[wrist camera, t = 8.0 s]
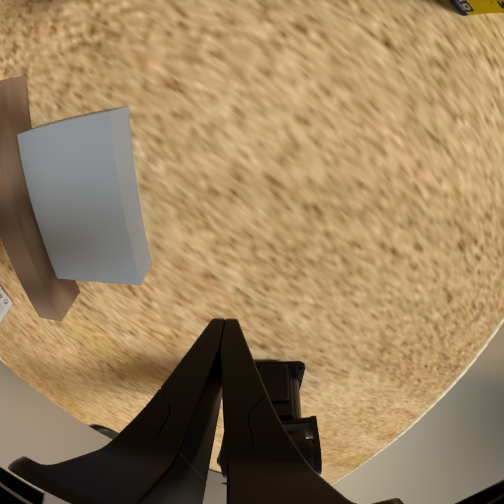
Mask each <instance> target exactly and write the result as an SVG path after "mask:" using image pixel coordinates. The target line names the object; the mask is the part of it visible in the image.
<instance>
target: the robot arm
mask: <svg viewBox="0 0 504 504" xmlns="http://www.w3.org/2000/svg"><path fill="white" fill-rule="evenodd" d="M304 370H305V364H304V363H255V362H254V360H253V357H252V355H251V352H250V350H249V347H248V345H247V342H246V340H245V337H244V335H243V332H242V330H241V327H240V324H239V322H238V320H237V319H226V320H225V319H221V318H214V319H212V320H211V322H210V323H209V324H208V326H207V327H206V328H205V330H204V331H203V332H202V334H201V335H200V336H199V338H198V339H197V340H196V342H195V343H194V344H193V346H192V347H191V348H190V350H189V351H188V352H187V354H186V355H185V356H184V357H183V359H182V360H181V361H180V363H179V364H178V365H177V367H176V368H175V369H174V371H173V372H172V373H171V375H170V376H169V377H168V379H167V380H166V381H165V383H164V384H163V385H162V386H161V389H159V390H158V392H157V393H156V394H155V396H154V397H153V398H152V399H151V401H150V402H149V403H148V404H147V405H146V407H145V408H144V409H143V410H142V411H141V412H140V413H139V414H138V415H137V416H136V417H135V418H134V419H133V420H132V421H131V422H130V423H129V424H128V425H127V426H126V427H125V428H124V429H123V430H122V431H121V432H120V433H119V434H118V435H117V436H116V437H115V438H114V439H113V440H112V441H111V442H110V443H108V444H107V445H106V446H104V447H103V448H101V449H99V450H96V451H94V452H91V453H88V454H85V455H82V456H79V457H77V458H73V459H70V460H67V461H64V462H61V463H57V464H53V465H42V464H39V463H37V462H35V461H32V460H31V459H29V458H27V457H24V456H23V457H21V458H19V459H17V460H15V461H14V462H12V463H11V464H10V465H9V466H8V469H9V470H10V471H11V472H13V473H14V474H16V475H18V476H19V477H21V478H23V479H24V480H26V481H28V482H29V483H31V484H33V485H35V486H37V487H38V488H40V489H42V490H44V493H43V492H41V491H40V490H38V489H36V488H34V487H33V486H31V485H29V484H27V483H26V482H24V481H22V480H21V479H19V478H17V477H16V476H14V475H13V474H11V473H9V472H8V471H6V470H5V469H3V468H1V467H0V504H202V503H203V498H204V492H205V487H206V480H207V475H208V470H209V464H210V459H211V453H212V448H213V442H214V437H215V431H216V426H217V420H218V415H219V409H220V404H221V399H222V400H223V418H224V435H223V440H222V445H221V450H220V452H219V455H218V458H217V464H218V465H219V466H220V467H221V471H222V475H223V477H224V478H227V504H356V503H353V502H351V501H349V500H348V499H346V498H345V497H344V496H343V495H342V494H340V493H339V492H338V491H337V490H336V489H334V488H333V487H332V486H331V485H330V484H329V483H327V482H326V481H325V480H324V479H323V478H322V477H321V476H319V474H321V471H322V461H321V448H320V440H319V433H318V426H317V419H316V416H310V417H306V418H301V405H300V393H299V390H300V386H301V383H302V379H303V375H304ZM306 437H310V439H306ZM373 504H404V503H403V502H402V501H401V500H400V499H399V498H394V499H390V500H385V501H381V502H377V503H373ZM455 504H504V480H501V481H500V482H498V483H496V484H494V485H492V486H490V487H488V488H486V489H484V490H482V491H479V492H478V493H476V494H474V495H472V496H469V497H467V498H465V499H463V500H461V501H459V502H457V503H455Z"/></svg>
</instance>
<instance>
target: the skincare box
mask: <svg viewBox="0 0 504 504" xmlns="http://www.w3.org/2000/svg"><path fill="white" fill-rule="evenodd" d="M12 305H13V302H12V301H11V299H10V298H9V297H8V296H7V295H6V293H5V292H4V291H3V289H2V288H1V286H0V323H1V321H2V320H3V318H4V316H5V315H6V313H7V312H8V310H9V309H10V308H11V306H12Z"/></svg>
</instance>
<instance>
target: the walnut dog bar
mask: <svg viewBox="0 0 504 504" xmlns="http://www.w3.org/2000/svg"><path fill="white" fill-rule="evenodd" d="M30 129H32V126H31V119H30V111H29V102H28V91H27V76H21V77H16V78H10V79H6V80H1V81H0V236H1V239H2V241H3V244H4V246H5V249H6V251H7V254H8V256H9V258H10V261H11V263H12V265H13V267H14V269H15V272H16V274H17V276H18V278H19V280H20V282H21V284H22V286H23V288H24V290H25V292H26V294H27V296H28V298H29V300H30V301H31V303H32V305H33V307H34V309H35V310H36V312H37V314H38V316H39V317H41V318H46V319H51V320H57V321H62V320H63V318H64V317H65V315H66V313H67V312H68V310H69V308H70V307H71V305H72V304H73V302H74V300H75V299H76V297H77V296H78V294H79V292H80V291H79V289H78V286H77V284H76V282H75V280H69V279H58V278H57V276H56V274H55V271H54V269H53V266H52V264H51V261H50V258H49V256H48V253H47V250H46V248H45V245H44V242H43V239H42V236H41V233H40V230H39V227H38V224H37V221H36V217H35V214H34V210H33V207H32V203H31V200H30V196H29V192H28V188H27V184H26V180H25V175H24V171H23V166H22V161H21V156H20V150H19V145H18V138H17V134H20V133H22V132H25V131H27V130H30Z"/></svg>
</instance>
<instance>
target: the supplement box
mask: <svg viewBox="0 0 504 504" xmlns="http://www.w3.org/2000/svg"><path fill="white" fill-rule="evenodd" d="M451 1H452V2H453V3H454V5H455V6H456V7H457V9H458V10H459V11H460V12H461V14H462V15H463V16H466V15H475V14H487V13H504V0H451Z"/></svg>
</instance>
